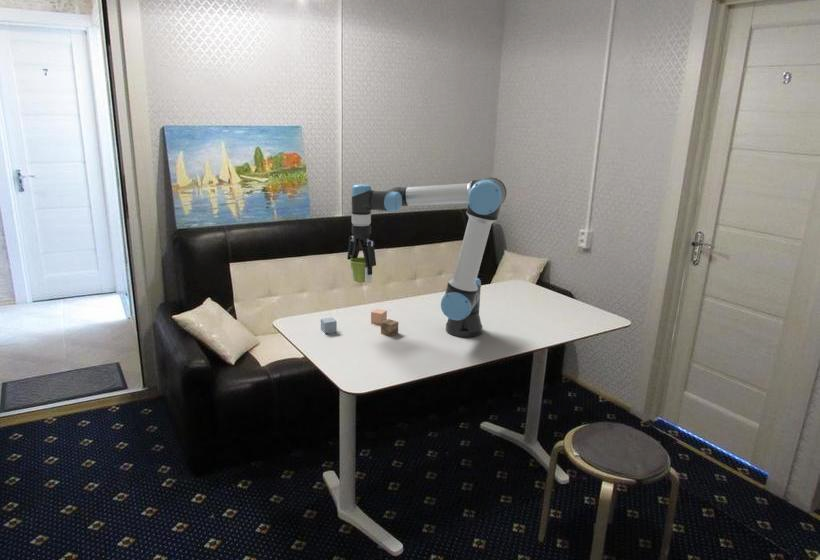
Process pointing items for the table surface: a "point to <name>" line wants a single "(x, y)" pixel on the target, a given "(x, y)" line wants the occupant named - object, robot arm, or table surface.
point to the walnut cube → (389, 327)
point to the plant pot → (358, 269)
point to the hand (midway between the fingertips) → (361, 279)
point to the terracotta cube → (378, 316)
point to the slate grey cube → (328, 325)
